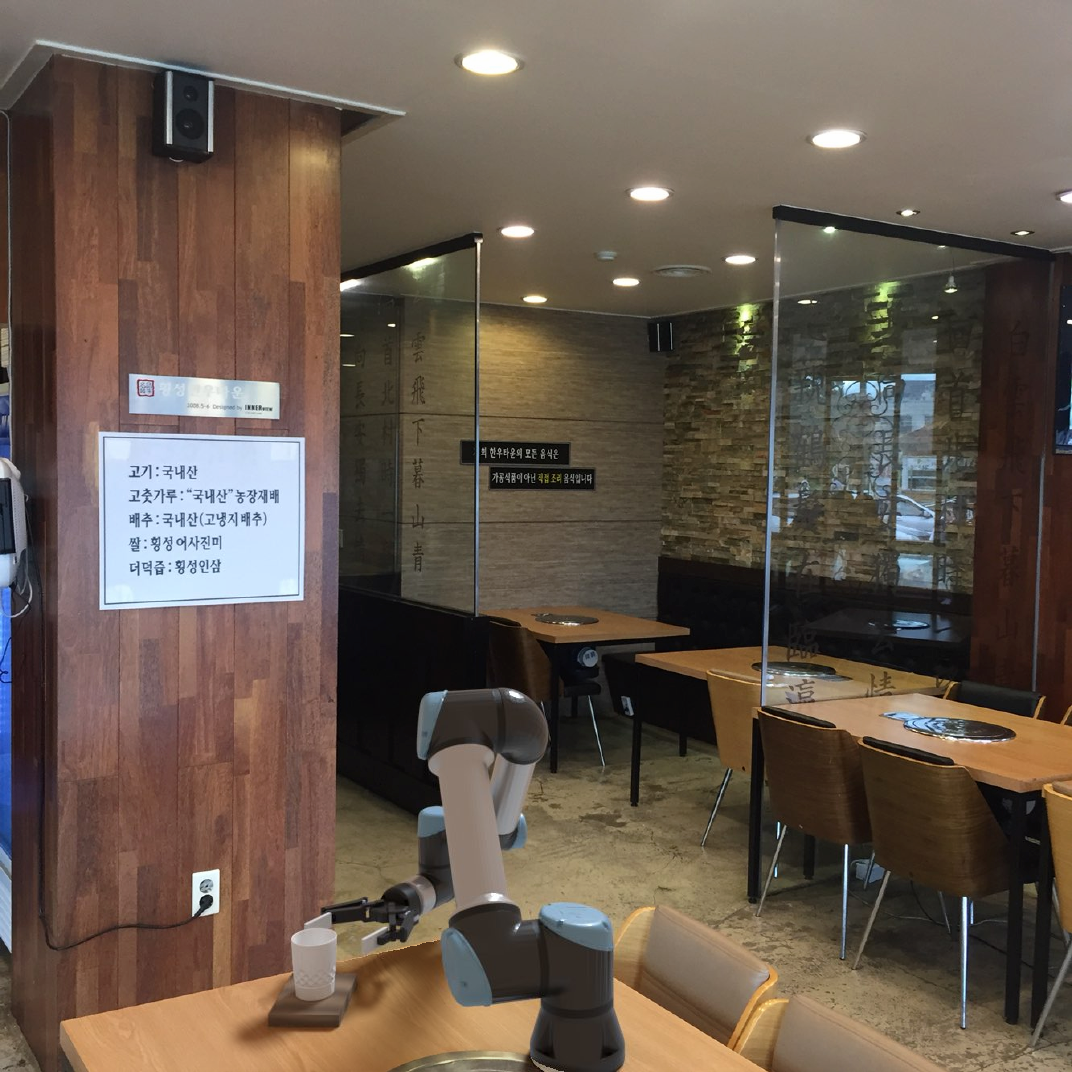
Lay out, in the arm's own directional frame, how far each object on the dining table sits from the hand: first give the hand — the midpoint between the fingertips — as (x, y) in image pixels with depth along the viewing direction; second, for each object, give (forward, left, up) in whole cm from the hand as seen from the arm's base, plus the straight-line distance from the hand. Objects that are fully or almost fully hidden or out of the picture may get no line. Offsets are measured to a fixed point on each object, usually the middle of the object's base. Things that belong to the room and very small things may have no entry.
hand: (333, 939), depth 197 cm
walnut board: (-5, +2, -10) cm, 11 cm away
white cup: (-5, +2, -8) cm, 9 cm away
